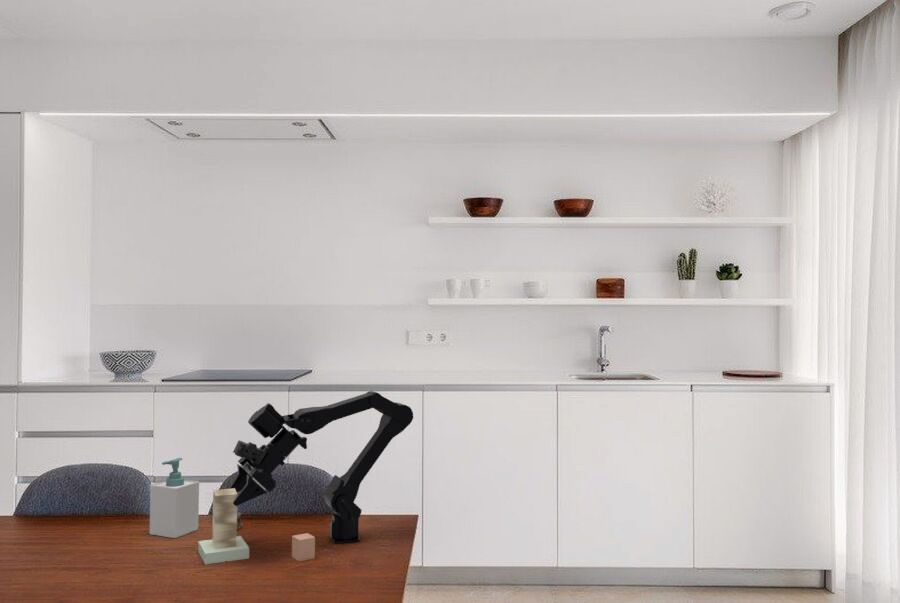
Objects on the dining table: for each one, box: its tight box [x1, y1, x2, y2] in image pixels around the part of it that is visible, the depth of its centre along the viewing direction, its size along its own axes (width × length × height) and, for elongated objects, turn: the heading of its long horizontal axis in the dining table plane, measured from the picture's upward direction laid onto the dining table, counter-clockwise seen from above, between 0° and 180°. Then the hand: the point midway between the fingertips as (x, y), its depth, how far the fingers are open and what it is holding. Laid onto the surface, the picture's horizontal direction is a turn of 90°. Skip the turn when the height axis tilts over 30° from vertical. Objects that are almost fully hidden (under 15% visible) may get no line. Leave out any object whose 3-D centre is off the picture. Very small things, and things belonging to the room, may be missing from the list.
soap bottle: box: [149, 457, 200, 539], centre depth 192 cm, size 9×9×19 cm
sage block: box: [197, 535, 250, 565], centre depth 174 cm, size 10×10×3 cm
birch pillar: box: [211, 488, 239, 549], centre depth 174 cm, size 5×5×12 cm
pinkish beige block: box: [291, 532, 316, 562], centre depth 173 cm, size 4×4×5 cm
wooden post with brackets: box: [237, 512, 244, 530], centre depth 193 cm, size 2×8×4 cm, turn 143°
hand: (230, 500), depth 175 cm, fingers open, 9 cm apart
